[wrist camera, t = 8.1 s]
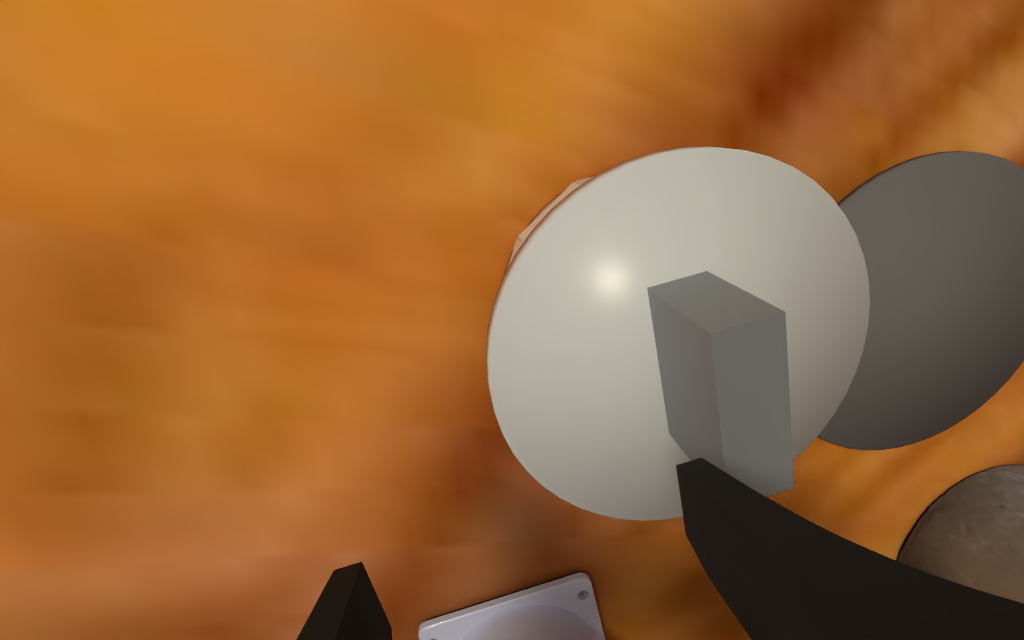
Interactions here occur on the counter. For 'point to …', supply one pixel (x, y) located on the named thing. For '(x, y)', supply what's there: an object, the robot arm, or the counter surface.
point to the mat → (934, 296)
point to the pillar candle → (975, 534)
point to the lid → (676, 329)
